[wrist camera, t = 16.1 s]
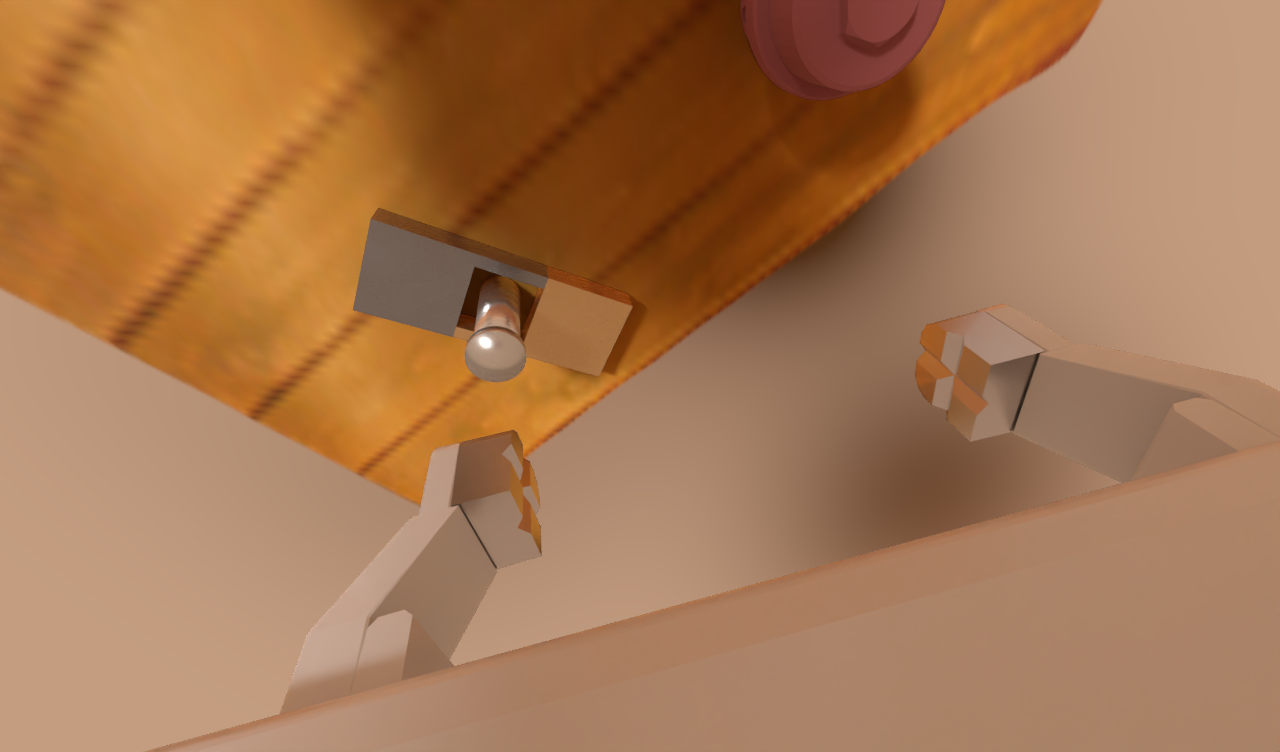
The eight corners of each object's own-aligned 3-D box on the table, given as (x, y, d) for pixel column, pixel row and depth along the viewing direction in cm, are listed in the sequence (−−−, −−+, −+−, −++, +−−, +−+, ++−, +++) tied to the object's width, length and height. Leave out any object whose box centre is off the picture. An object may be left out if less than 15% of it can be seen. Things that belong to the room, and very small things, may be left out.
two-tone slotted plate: (360, 295, 41) (353, 309, 39) (378, 208, 38) (370, 218, 36) (595, 362, 49) (598, 376, 47) (628, 293, 46) (632, 306, 44)
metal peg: (469, 307, 44) (457, 373, 36) (482, 264, 42) (473, 324, 34) (516, 321, 45) (515, 388, 37) (531, 280, 43) (534, 341, 35)
